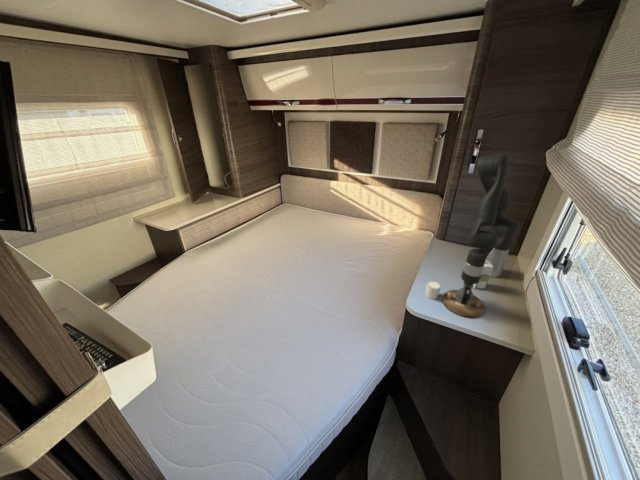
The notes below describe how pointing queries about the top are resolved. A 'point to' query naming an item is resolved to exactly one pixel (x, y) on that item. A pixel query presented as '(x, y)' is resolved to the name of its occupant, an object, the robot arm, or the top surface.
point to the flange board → (468, 310)
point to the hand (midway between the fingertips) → (463, 299)
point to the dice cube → (459, 295)
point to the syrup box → (484, 276)
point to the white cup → (432, 289)
